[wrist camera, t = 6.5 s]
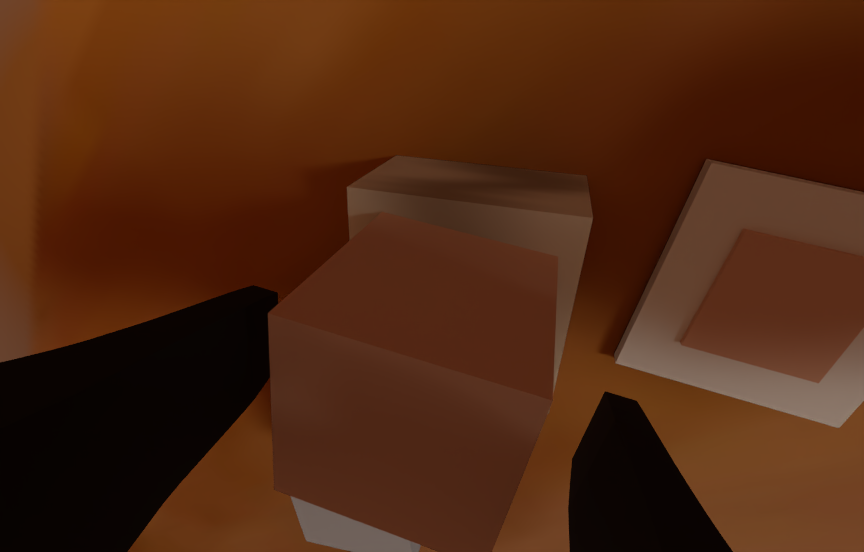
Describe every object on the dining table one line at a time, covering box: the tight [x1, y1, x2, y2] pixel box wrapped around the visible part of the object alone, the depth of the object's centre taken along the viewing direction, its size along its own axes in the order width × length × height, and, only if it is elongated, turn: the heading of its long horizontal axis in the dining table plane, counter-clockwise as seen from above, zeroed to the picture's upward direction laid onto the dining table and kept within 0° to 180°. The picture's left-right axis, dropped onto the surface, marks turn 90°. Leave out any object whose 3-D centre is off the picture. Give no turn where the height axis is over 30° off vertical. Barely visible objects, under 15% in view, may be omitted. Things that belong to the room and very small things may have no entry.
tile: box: [614, 159, 864, 428], centre depth 13 cm, size 7×7×1 cm
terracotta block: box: [268, 212, 558, 552], centre depth 10 cm, size 4×4×5 cm
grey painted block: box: [291, 496, 420, 552], centre depth 18 cm, size 4×4×5 cm
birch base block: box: [347, 155, 593, 414], centre depth 14 cm, size 6×6×4 cm
